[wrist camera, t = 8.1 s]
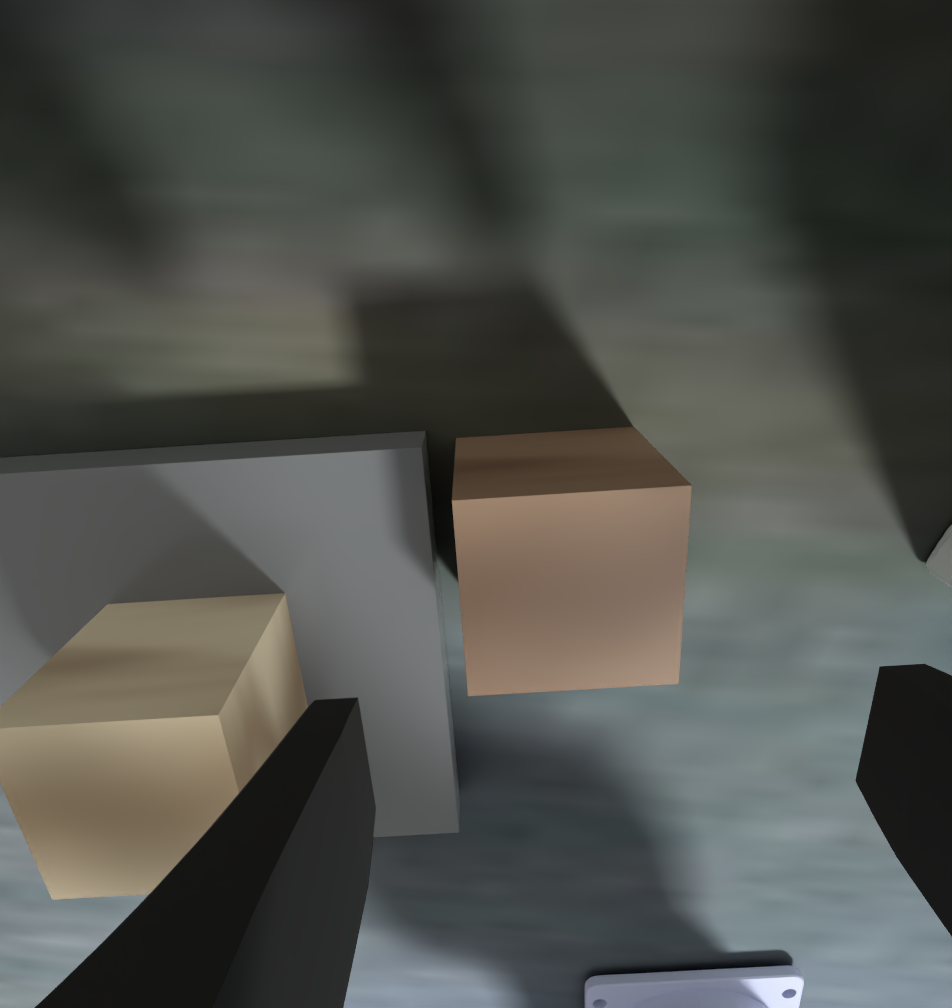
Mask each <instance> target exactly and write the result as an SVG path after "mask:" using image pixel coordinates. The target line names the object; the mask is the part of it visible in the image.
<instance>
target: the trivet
mask: <svg viewBox="0 0 952 1008" xmlns="http://www.w3.org/2000/svg"><path fill="white" fill-rule="evenodd" d="M278 593H285V595H286V600H287V605H288V610H289V615H290V620H291V625H292V630H293V635H294V640H295V645H296V650H297V655H298V660H299V665H300V670H301V675H302V680H303V685H304V690H305V695H306V700H307V705H308V706H309V705H310V704H311V703H312V702H313V701H314V700H322V699H339V698H356V697H358V700H359V706H360V712H361V718H362V724H363V731H364V737H365V743H366V749H367V755H368V762H369V768H370V774H371V780H372V786H373V793H374V799H375V805H376V814H375V825H374V835H373V837H390V836H408V835H426V834H444V833H459V800H460V792H459V781H458V770H457V760H456V749H455V738H454V728H453V717H452V706H451V696H450V685H449V675H448V664H447V653H446V643H445V632H444V621H443V611H442V600H441V589H440V579H439V568H438V557H437V547H436V536H435V526H434V515H433V504H432V494H431V483H430V472H429V462H428V451H427V440H426V431H413V432H397V433H381V434H365V435H350V436H334V437H318V438H302V439H286V440H271V441H255V442H239V443H223V444H208V445H192V446H176V447H160V448H145V449H129V450H113V451H97V452H81V453H66V454H50V455H34V456H18V457H3V458H0V706H2V705H3V704H4V703H5V702H6V701H7V700H8V699H9V698H10V697H11V696H12V695H13V694H14V693H15V692H16V691H17V690H18V689H19V688H20V687H21V686H22V685H23V684H25V683H26V682H27V681H28V680H29V679H30V678H31V677H32V676H33V675H34V674H35V673H36V672H37V671H38V670H39V669H40V668H41V667H42V666H43V665H44V664H45V663H46V662H48V661H49V660H50V659H51V658H52V657H53V656H54V655H55V654H56V653H57V652H58V651H59V650H60V649H61V648H62V647H63V646H64V645H65V644H66V643H67V642H68V641H69V640H71V639H72V638H73V637H74V636H75V635H76V634H77V633H78V632H79V631H80V630H81V629H82V628H83V627H84V626H85V625H86V624H87V623H88V622H89V621H90V620H91V619H92V618H94V617H95V616H96V615H97V614H98V613H99V612H100V611H101V610H102V609H103V608H104V607H105V606H106V605H107V604H118V603H134V602H150V601H166V600H182V599H198V598H214V597H230V596H246V595H262V594H278Z"/></svg>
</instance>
